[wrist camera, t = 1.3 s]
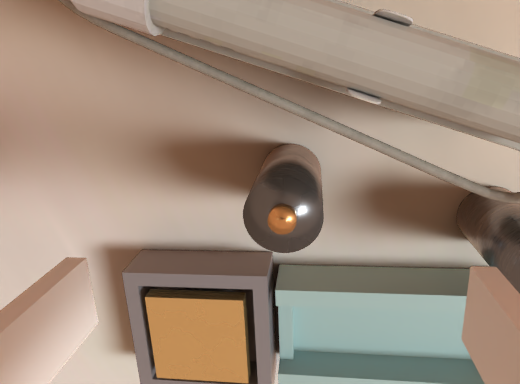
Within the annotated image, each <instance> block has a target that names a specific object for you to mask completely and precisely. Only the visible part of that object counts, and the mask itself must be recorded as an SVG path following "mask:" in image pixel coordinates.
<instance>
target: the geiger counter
mask: <svg viewBox="0 0 520 384" xmlns="http://www.w3.org/2000/svg"><path fill="white" fill-rule="evenodd" d="M59 1H60V2H61V3H62V4H64V5H65V6H66V7H67V8H69V9H70V10H72V11H73V12H74V13H76V14H77V15H79V16H81V17H83V18H84V19H86V20H88V21H89V22H91V23H93V24H95V25H97V26H99V27H101V28H103V29H105V30H107V31H109V32H111V33H113V34H116V35H118V36H120V37H122V38H125V39H127V40H129V41H131V42H134V43H136V44H138V45H140V46H143V47H145V48H147V49H149V50H152V51H154V52H156V53H158V54H161V55H163V56H165V57H167V58H170V59H172V60H174V61H176V62H179V63H181V64H183V65H185V66H188V67H190V68H192V69H194V70H197V71H199V72H201V73H203V74H206V75H208V76H210V77H212V78H215V79H217V80H219V81H221V82H224V83H226V84H228V85H230V86H233V87H235V88H237V89H239V90H242V91H244V92H246V93H248V94H251V95H253V96H255V97H257V98H259V99H262V100H264V101H266V102H268V103H271V104H273V105H275V106H277V107H280V108H282V109H284V110H286V111H289V112H291V113H293V114H295V115H298V116H300V117H302V118H304V119H307V120H309V121H311V122H313V123H316V124H318V125H320V126H322V127H325V128H327V129H329V130H331V131H334V132H336V133H338V134H340V135H343V136H345V137H347V138H349V139H352V140H354V141H356V142H358V143H361V144H363V145H365V146H367V147H370V148H372V149H374V150H376V151H379V152H381V153H383V154H385V155H388V156H390V157H392V158H394V159H397V160H399V161H401V162H403V163H406V164H408V165H410V166H412V167H415V168H417V169H419V170H421V171H423V172H426V173H428V174H430V175H432V176H435V177H437V178H439V179H441V180H444V181H446V182H449V183H451V184H453V185H456V186H458V187H461V188H463V189H465V190H468V191H470V192H473V193H475V194H478V195H481V196H484V197H486V198H489V199H494V200H498V201H502V202H512V203H520V192H517V193H512V192H503V191H499V190H495V189H490V188H487V187H485V186H482V185H480V184H477V183H474V182H472V181H470V180H467V179H465V178H463V177H460V176H458V175H456V174H453V173H451V172H449V171H446V170H444V169H442V168H440V167H437V166H435V165H433V164H431V163H428V162H426V161H424V160H421V159H419V158H417V157H415V156H412V155H410V154H408V153H406V152H403V151H401V150H399V149H397V148H394V147H392V146H390V145H388V144H385V143H383V142H381V141H379V140H376V139H374V138H372V137H370V136H367V135H365V134H363V133H361V132H358V131H356V130H354V129H352V128H349V127H347V126H345V125H343V124H340V123H338V122H336V121H334V120H331V119H329V118H327V117H325V116H322V115H320V114H318V113H316V112H313V111H311V110H309V109H307V108H304V107H302V106H300V105H297V104H295V103H293V102H291V101H288V100H286V99H284V98H282V97H279V96H277V95H275V94H273V93H270V92H268V91H266V90H264V89H261V88H259V87H257V86H255V85H252V84H250V83H248V82H246V81H243V80H241V79H239V78H237V77H234V76H232V75H230V74H228V73H225V72H223V71H221V70H219V69H216V68H214V67H212V66H210V65H207V64H205V63H203V62H201V61H198V60H196V59H194V58H192V57H189V56H187V55H185V54H182V53H180V52H178V51H176V50H173V49H171V48H169V47H167V46H164V45H162V44H160V43H158V42H155V41H153V40H151V39H149V38H146V37H144V36H142V35H140V34H137V33H135V32H133V31H131V30H128V29H126V28H124V27H122V26H125V27H128V28H131V29H134V30H137V31H140V32H144V33H147V34H150V35H153V36H157V35H162V36H165V37H168V38H171V39H174V40H178V41H181V42H184V43H187V44H190V45H193V46H196V47H199V48H202V49H205V50H209V51H212V52H215V53H218V54H221V55H224V56H227V57H230V58H233V59H236V60H240V61H243V62H246V63H249V64H252V65H255V66H258V67H261V68H264V69H267V70H270V71H274V72H277V73H280V74H283V75H286V76H289V77H292V78H295V79H298V80H301V81H305V82H308V83H311V84H314V85H317V86H320V87H323V88H326V89H329V90H332V91H336V92H339V93H342V94H345V95H348V96H351V97H354V98H357V99H360V100H363V101H367V102H370V103H373V104H376V105H379V106H382V107H385V108H388V109H391V110H394V111H397V112H401V113H404V114H407V115H410V116H413V117H416V118H419V119H422V120H425V121H428V122H432V123H435V124H438V125H441V126H444V127H447V128H450V129H453V130H456V131H459V132H463V133H466V134H469V135H472V136H475V137H478V138H481V139H484V140H487V141H490V142H494V143H497V144H500V145H503V146H506V147H509V148H512V149H515V150H518V151H520V58H518V57H515V56H512V55H509V54H505V53H502V52H499V51H496V50H493V49H490V48H487V47H483V46H480V45H477V44H474V43H471V42H468V41H465V40H461V39H458V38H455V37H452V36H449V35H446V34H443V33H439V32H436V31H433V30H430V29H427V28H424V27H420V26H417V25H414V24H412V23H413V19H412V18H411V17H408V16H406V15H403V14H400V13H397V12H393V11H390V10H384V9H379V10H378V11H376V12H373V11H370V10H367V9H364V8H361V7H358V6H354V5H351V4H348V3H345V2H342V1H341V0H59ZM115 23H116V24H115ZM117 24H119V25H122V26H119V25H117Z"/></svg>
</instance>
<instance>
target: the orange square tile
mask: <svg viewBox="0 0 520 384" xmlns="http://www.w3.org/2000/svg"><path fill="white" fill-rule="evenodd" d="M145 302H146V309H147V315H148V322H149V329H150V335H151V342H152V348H153V355H154V362H155V368H156V375H157V378H170V379H186V380H202V381H218V382H234V383H249V378H250V373H251V372H250V356H249V340H248V323H247V307H246V292H219V291H188V290H158V289H150V290H149V292H148V293H147V295H146V296H145Z"/></svg>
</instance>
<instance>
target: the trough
mask: <svg viewBox="0 0 520 384" xmlns="http://www.w3.org/2000/svg"><path fill="white" fill-rule="evenodd" d="M469 275H470V269H457V268H413V267H369V266H326V265H282V264H280V265H279V271H278V277H277V283H276V288H275V298H276V306H278V317H279V347H280V363H279V371H278V382H279V384H484V382H483V380H482V378H481V376H480V374H479V372H478V370H477V368H476V366H475V364H474V362H473V361H472V359H471V357H470V355H469V353H468V351H467V349H466V347H465V345H464V343H463V341H462V339H461V337H462V330H463V322H464V314H465V306H466V298H467V291H468V283H469Z"/></svg>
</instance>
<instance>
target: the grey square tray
mask: <svg viewBox="0 0 520 384" xmlns="http://www.w3.org/2000/svg"><path fill="white" fill-rule="evenodd" d="M122 277H123V283H124V289H125V295H126V300H127V306H128V312H129V318H130V324H131V330H132V336H133V342H134V348H135V354H136V360H137V366H138V372H139V378H140V384H274V380H275V372H276V337H275V310H274V283H273V256H272V252H242V251H189V250H141V251H140V253H139V254H138V255H137V256H136V257H135V258H134V259H133V261H132V262H131V263H130V264H129V265H128V266H127V267H126V268H125V270H124V271H123V272H122ZM150 289H158V290H188V291H219V292H246V307H247V323H248V340H249V356H250V372H251V373H250V378H249V383H234V382H218V381H202V380H186V379H170V378H157V375H156V368H155V362H154V355H153V348H152V342H151V335H150V329H149V322H148V315H147V309H146V302H145V296H146V295H147V293H148V292H149V290H150Z"/></svg>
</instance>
